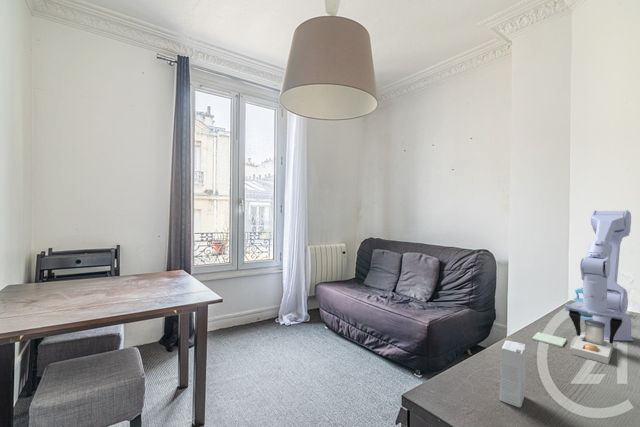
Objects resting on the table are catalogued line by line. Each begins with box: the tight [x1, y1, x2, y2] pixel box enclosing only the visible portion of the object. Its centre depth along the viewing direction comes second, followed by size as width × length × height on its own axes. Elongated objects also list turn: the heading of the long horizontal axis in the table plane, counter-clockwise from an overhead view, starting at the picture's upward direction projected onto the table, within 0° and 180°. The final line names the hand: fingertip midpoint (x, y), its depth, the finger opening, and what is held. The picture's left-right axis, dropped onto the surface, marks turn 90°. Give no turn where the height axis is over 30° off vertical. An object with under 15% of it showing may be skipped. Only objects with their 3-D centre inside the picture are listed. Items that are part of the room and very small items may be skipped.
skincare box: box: [499, 339, 527, 408], centre depth 69 cm, size 6×4×12 cm
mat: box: [531, 331, 568, 348], centre depth 102 cm, size 8×8×1 cm
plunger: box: [585, 344, 597, 352], centre depth 91 cm, size 3×3×2 cm
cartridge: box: [584, 320, 605, 346], centre depth 96 cm, size 5×5×8 cm
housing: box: [571, 333, 614, 365], centre depth 94 cm, size 16×8×2 cm, turn 132°
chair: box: [573, 287, 593, 321], centre depth 125 cm, size 8×8×12 cm
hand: (594, 338), depth 96 cm, fingers open, 7 cm apart
